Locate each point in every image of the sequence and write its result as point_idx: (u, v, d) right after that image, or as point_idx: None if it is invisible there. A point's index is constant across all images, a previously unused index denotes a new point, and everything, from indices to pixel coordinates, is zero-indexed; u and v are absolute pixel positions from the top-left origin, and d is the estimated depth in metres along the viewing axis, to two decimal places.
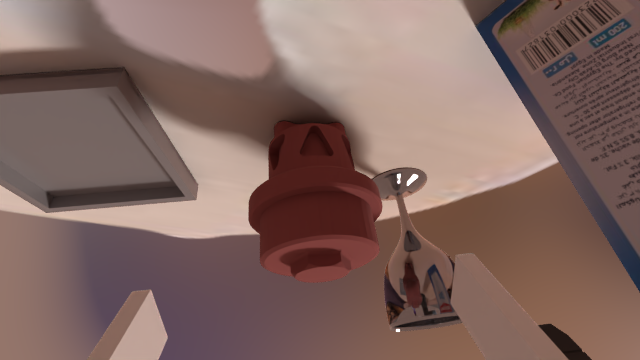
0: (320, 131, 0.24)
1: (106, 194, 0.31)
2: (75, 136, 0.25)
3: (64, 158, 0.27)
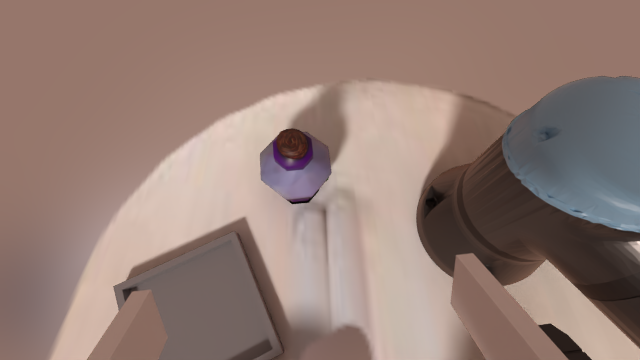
0: None
1: None
2: (216, 318, 0.36)
3: (188, 307, 0.36)
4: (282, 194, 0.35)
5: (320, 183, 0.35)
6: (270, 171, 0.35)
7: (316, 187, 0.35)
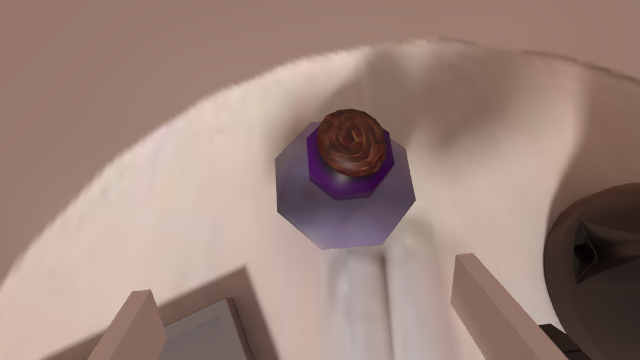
0: None
1: None
2: None
3: None
4: (320, 243, 0.17)
5: (395, 221, 0.18)
6: (295, 195, 0.18)
7: (388, 230, 0.17)
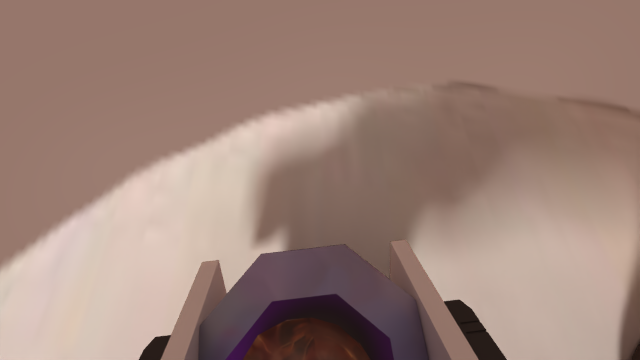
0: None
1: None
2: None
3: None
4: None
5: None
6: None
7: None
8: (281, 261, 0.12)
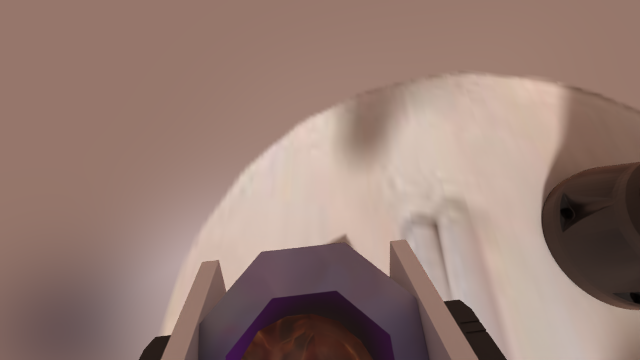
0: None
1: None
2: None
3: None
4: None
5: None
6: None
7: None
8: (281, 259, 0.12)
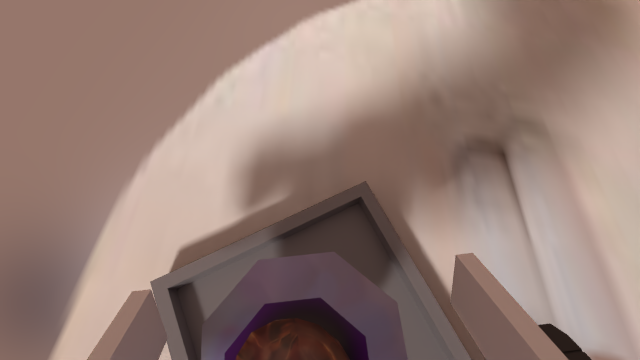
0: None
1: None
2: None
3: None
4: None
5: None
6: None
7: None
8: (276, 266, 0.13)
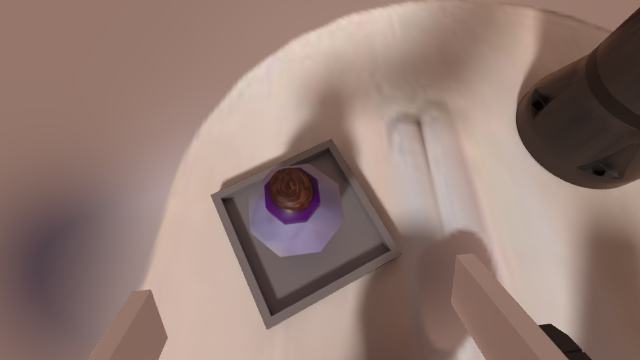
0: None
1: (241, 243, 0.33)
2: None
3: None
4: (279, 253, 0.26)
5: (330, 235, 0.26)
6: (261, 221, 0.26)
7: (325, 241, 0.26)
8: None
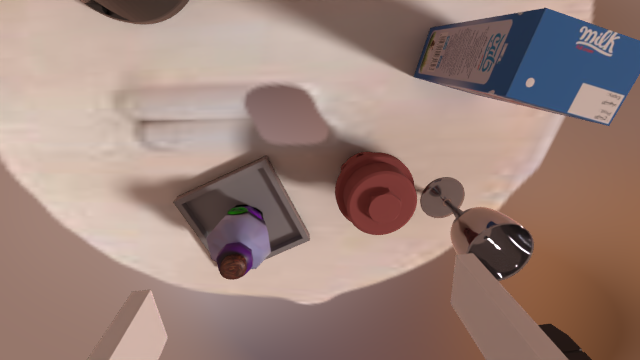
0: (363, 154, 0.44)
1: None
2: None
3: None
4: (268, 253, 0.43)
5: (257, 226, 0.41)
6: None
7: (261, 229, 0.41)
8: (212, 254, 0.42)
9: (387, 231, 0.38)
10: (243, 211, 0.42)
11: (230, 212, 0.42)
